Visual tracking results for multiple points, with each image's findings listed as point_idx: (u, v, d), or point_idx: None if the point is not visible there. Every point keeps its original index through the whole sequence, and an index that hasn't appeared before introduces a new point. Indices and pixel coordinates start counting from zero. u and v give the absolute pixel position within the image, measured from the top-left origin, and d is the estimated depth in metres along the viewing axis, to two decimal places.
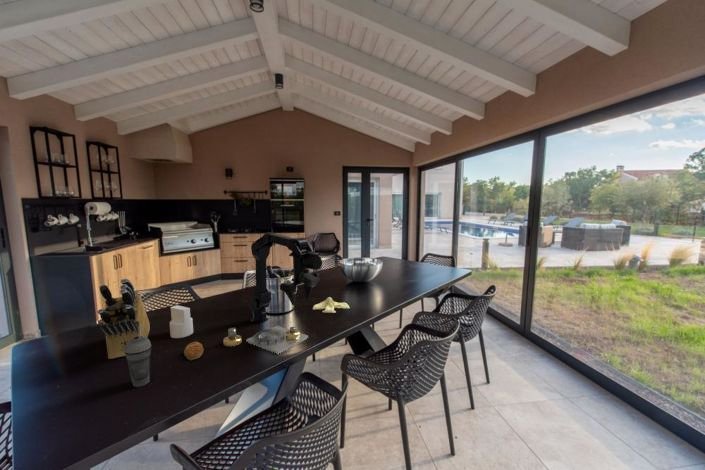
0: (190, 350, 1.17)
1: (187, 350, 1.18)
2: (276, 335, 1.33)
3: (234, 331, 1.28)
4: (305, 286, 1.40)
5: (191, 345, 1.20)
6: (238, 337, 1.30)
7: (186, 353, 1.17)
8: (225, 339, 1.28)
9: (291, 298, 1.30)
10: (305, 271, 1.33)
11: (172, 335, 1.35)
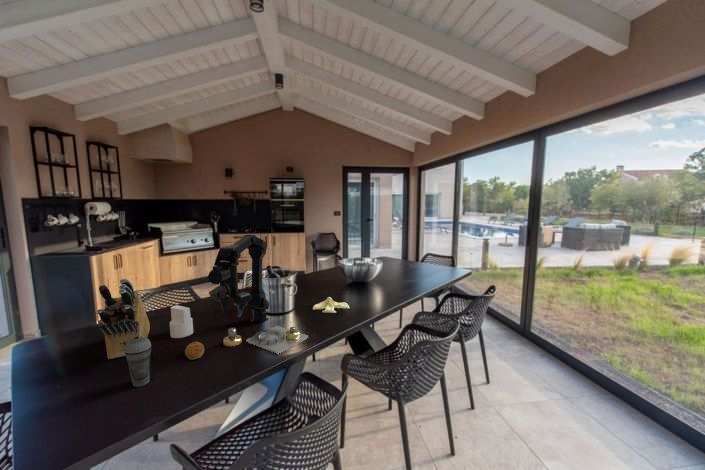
0: (191, 350, 1.18)
1: (188, 350, 1.18)
2: (276, 335, 1.33)
3: (234, 331, 1.28)
4: None
5: (192, 345, 1.20)
6: (238, 337, 1.30)
7: (187, 353, 1.17)
8: (225, 339, 1.28)
9: None
10: (224, 283, 1.24)
11: (172, 335, 1.35)
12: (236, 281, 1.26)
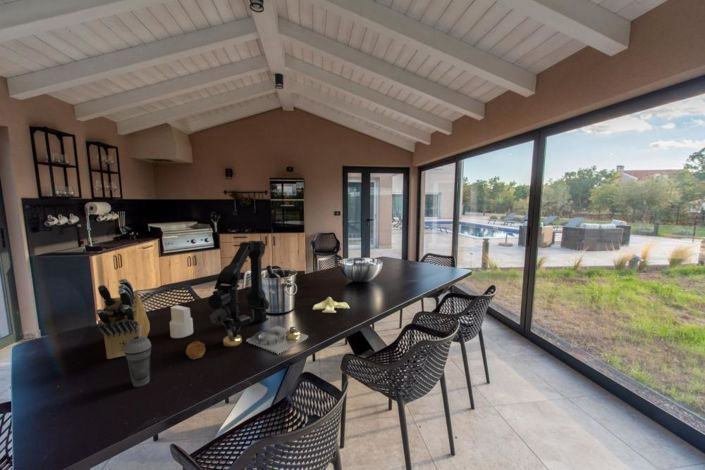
0: (192, 349, 1.18)
1: (189, 349, 1.18)
2: (276, 335, 1.33)
3: None
4: None
5: (193, 344, 1.21)
6: (238, 337, 1.30)
7: (188, 352, 1.17)
8: (225, 339, 1.28)
9: None
10: (225, 306, 1.25)
11: (172, 335, 1.35)
12: (236, 304, 1.27)
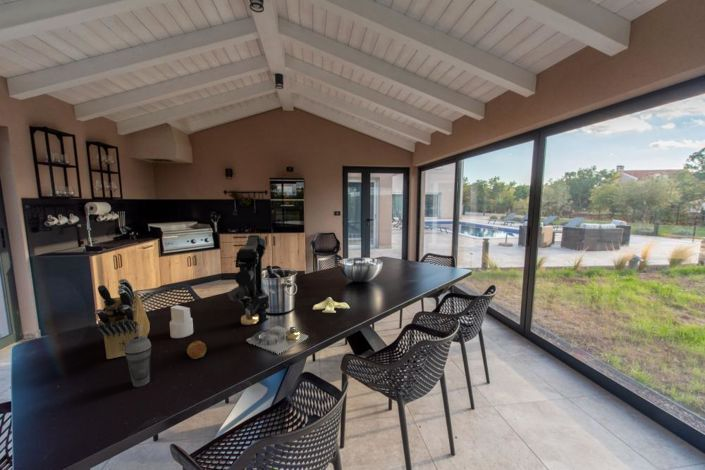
0: (193, 349, 1.18)
1: (190, 349, 1.18)
2: (276, 335, 1.33)
3: None
4: None
5: (194, 344, 1.21)
6: (255, 315, 1.30)
7: (189, 352, 1.18)
8: (243, 317, 1.28)
9: None
10: None
11: (172, 335, 1.35)
12: (254, 282, 1.27)
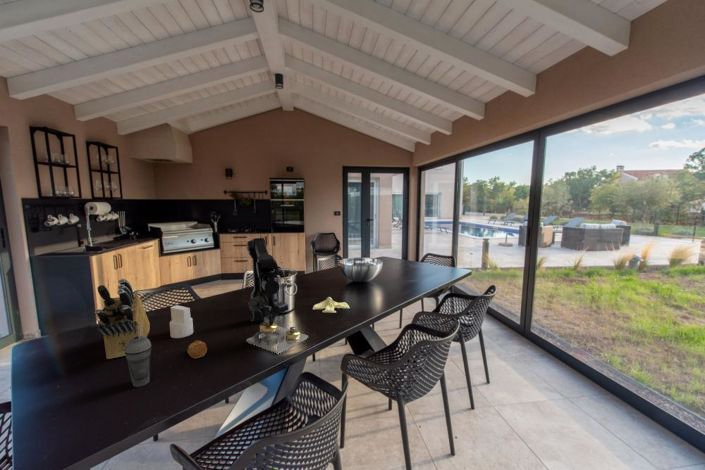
0: (194, 349, 1.18)
1: (191, 349, 1.19)
2: (276, 335, 1.33)
3: None
4: None
5: (194, 344, 1.21)
6: (274, 324, 1.32)
7: (190, 352, 1.18)
8: (261, 326, 1.30)
9: None
10: (262, 294, 1.26)
11: (172, 335, 1.35)
12: None
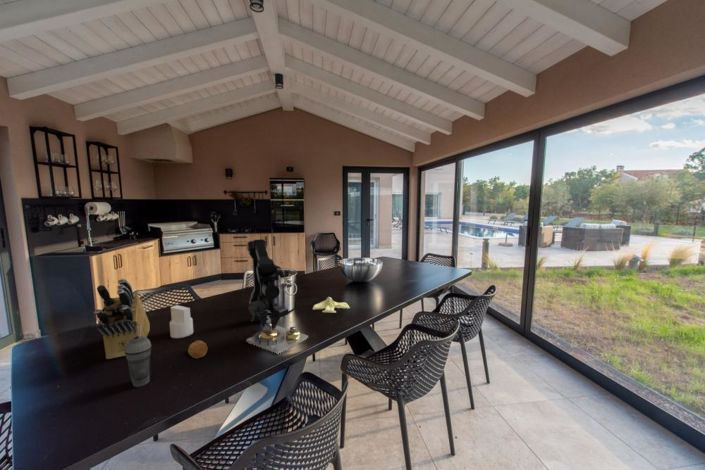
0: (195, 349, 1.18)
1: (192, 349, 1.19)
2: None
3: None
4: None
5: (195, 344, 1.21)
6: (274, 332, 1.32)
7: (191, 352, 1.18)
8: (262, 333, 1.30)
9: None
10: (262, 298, 1.27)
11: (172, 335, 1.35)
12: None
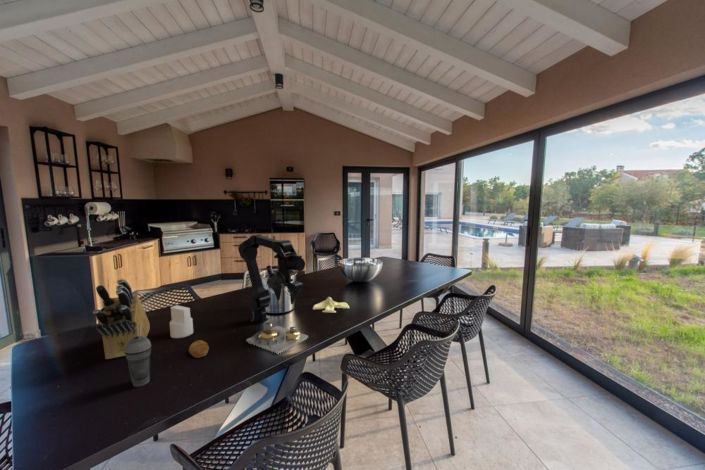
0: (196, 348, 1.19)
1: (193, 348, 1.19)
2: None
3: (271, 326, 1.30)
4: None
5: (196, 343, 1.22)
6: (274, 332, 1.32)
7: (192, 351, 1.18)
8: (262, 333, 1.30)
9: None
10: (280, 273, 1.37)
11: (172, 335, 1.35)
12: (290, 271, 1.39)
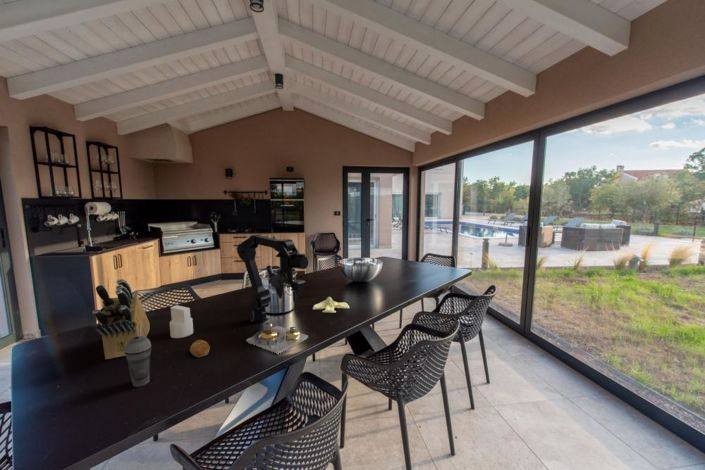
0: (197, 348, 1.19)
1: (194, 348, 1.19)
2: None
3: (271, 326, 1.30)
4: None
5: (197, 343, 1.22)
6: (274, 332, 1.32)
7: (193, 351, 1.18)
8: (262, 333, 1.30)
9: None
10: (282, 272, 1.39)
11: (172, 335, 1.35)
12: (292, 270, 1.41)
